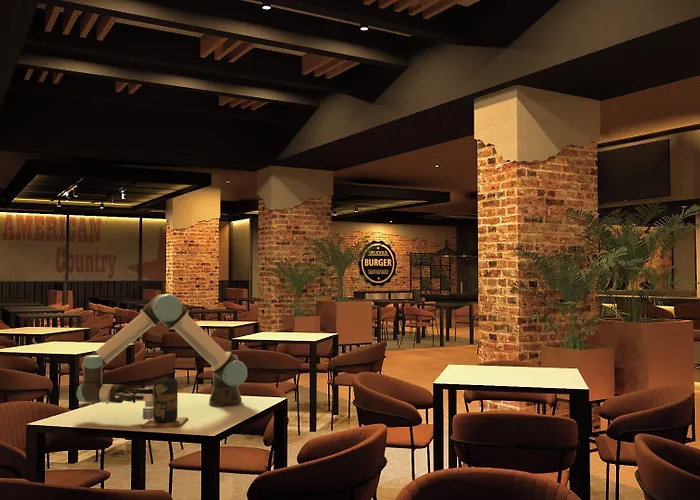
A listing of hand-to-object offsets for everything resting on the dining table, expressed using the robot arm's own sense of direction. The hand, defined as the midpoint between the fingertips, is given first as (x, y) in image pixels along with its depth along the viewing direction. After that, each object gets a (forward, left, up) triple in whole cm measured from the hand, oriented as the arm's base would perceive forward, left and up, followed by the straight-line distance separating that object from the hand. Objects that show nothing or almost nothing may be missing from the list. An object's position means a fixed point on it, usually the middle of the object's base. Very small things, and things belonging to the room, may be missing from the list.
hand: (160, 394), depth 273 cm
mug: (+9, -30, -12) cm, 33 cm away
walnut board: (-2, 0, -12) cm, 12 cm away
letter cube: (+9, -16, -12) cm, 22 cm away
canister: (-2, 0, -11) cm, 11 cm away
